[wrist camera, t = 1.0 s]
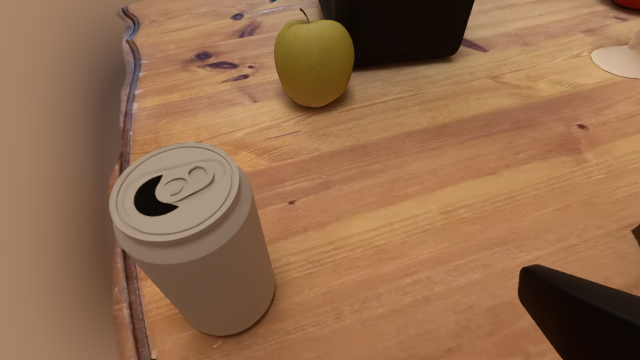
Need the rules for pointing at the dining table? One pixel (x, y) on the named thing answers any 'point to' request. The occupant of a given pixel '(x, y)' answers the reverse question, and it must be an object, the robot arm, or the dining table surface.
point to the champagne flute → (620, 58)
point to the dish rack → (637, 232)
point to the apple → (314, 60)
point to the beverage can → (196, 235)
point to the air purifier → (400, 27)
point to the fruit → (628, 3)
